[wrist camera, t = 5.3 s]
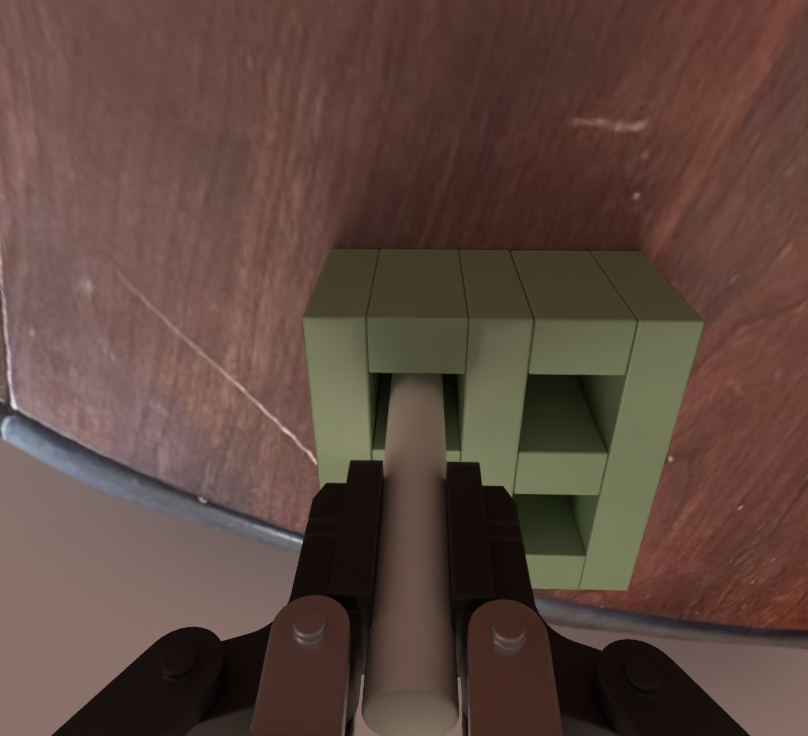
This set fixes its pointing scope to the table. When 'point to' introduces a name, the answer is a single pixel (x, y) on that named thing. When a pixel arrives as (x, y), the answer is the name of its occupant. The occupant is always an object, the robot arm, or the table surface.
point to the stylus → (412, 573)
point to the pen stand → (514, 383)
